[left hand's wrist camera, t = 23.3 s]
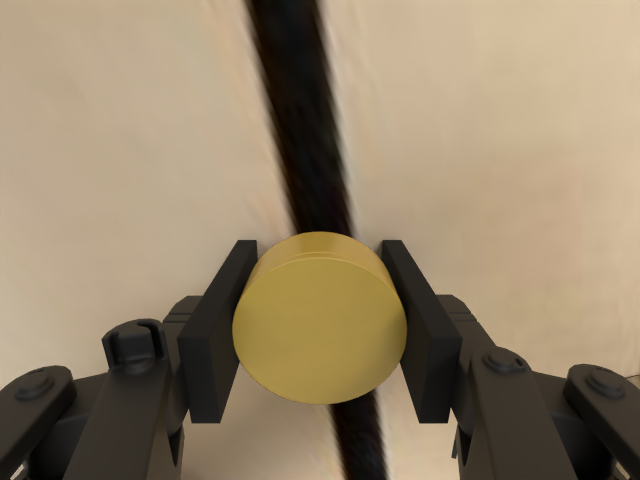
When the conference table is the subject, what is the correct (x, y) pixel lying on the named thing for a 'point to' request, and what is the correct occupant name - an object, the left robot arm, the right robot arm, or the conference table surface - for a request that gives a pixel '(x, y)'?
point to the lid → (319, 320)
